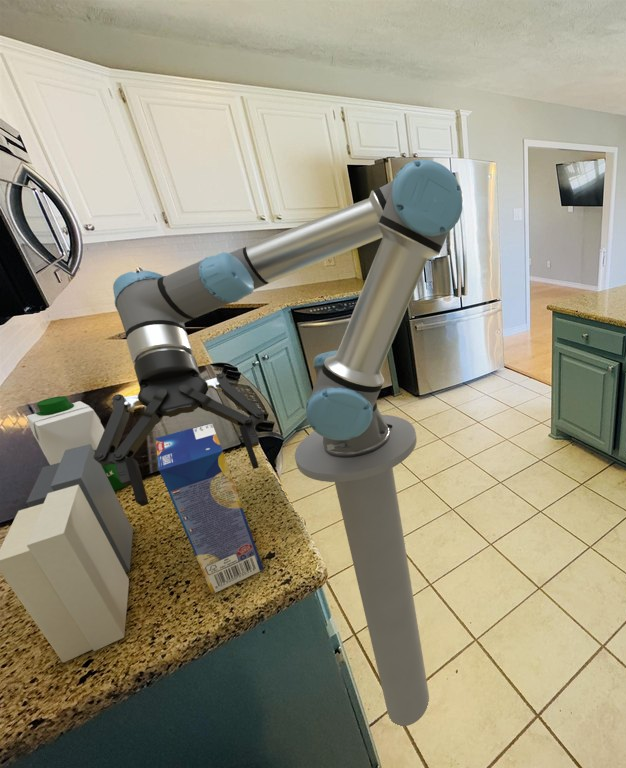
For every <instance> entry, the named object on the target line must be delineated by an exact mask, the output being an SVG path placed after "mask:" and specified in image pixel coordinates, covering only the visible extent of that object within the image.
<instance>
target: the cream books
mask: <svg viewBox="0 0 626 768" xmlns="http://www.w3.org/2000/svg"><path fill="white" fill-rule="evenodd" d="M0 574H1V576H2V577H3V579H4V580H5V581H6V583H7V584H8V586H9V587H10V589H11V590H12V591H13V593H14V594H15V596H16V597H17V599H18V600H19V601H20V603H21V604H22V606H23V607H24V609H25V610H26V612H27V614H29V616H30V618H31V619H32V621H34V623H35V625H36V627H38V629H39V631H40V632H41V633H42V634H43V636H44V638H45V640H46V641H47V642H48V643H49V645H50V646H51V648H52V649H53V651H54V652H55V654H56V655H57V656H58V658H59V659H60V661H61V662H62V663H63V664H64V663H66V662H68V661H71V660H73V659H75V658H77V657H79V656H81V655H84V654H86V653H88V652H90V651H93V652H96V651H98V650H100V649H102V648H105V647H107V646H109V645H111V644H113V643H115V642H117V641H119V640H122V639H124V638H125V637H126V636H125V635H126V623H127V610H128V600H129V587H130V585H129V584H130V579H129V577H128V575H127V573H125V571H124V569H123V567H122V565H121V564H120V562H119V560H118V558H117V556H116V554H115V552H114V550H113V549H112V547H111V545H110V543H109V541H108V539H107V537H106V535H105V533H104V532H103V530H102V528H101V526H100V524H99V522H98V520H97V518H96V516H95V515H94V513H93V511H92V509H91V507H90V505H89V503H88V501H87V499H86V498H85V496H84V494H83V492H82V490H81V488H80V486H79V485H75V486H72V487H68V488H65V489H61V490H58V491H54V492H51V493H48V494H47V496H46V499H45V501H44V503H43V504H40V505H36V506H33V507H30V508H29V507H26V508H22V509H19V510H18V511H17V512H16V515H15V517H14V519H13V521H12V524H11V526H10V527H9V529H8V532H7V533H6V535H5V538H4V540H3V542H2V544H1V546H0Z"/></svg>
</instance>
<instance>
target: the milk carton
mask: <svg viewBox="0 0 626 768" xmlns="http://www.w3.org/2000/svg"><path fill="white" fill-rule="evenodd" d="M36 406H37V409H38V410H39V411H37V412H35V413H32V414H29V415H26V419H27V422H28V425H29V428H30V430H31V432H32V434H33V436H34V438H35V440H36V441H37V443H38V447H40V450H41V451H42V453H43V455H44V457H45V458H46V461H47V462H48V464H49V465H53V464H56V463H60V462H61V459H62V457H63V455H64V452H65V450H68V449H72V448H76V447H80V446H84V445H88V444H91V445H92V447H93V449H94V451H95V452H96V449H97V447H98V445H99V442H100V440H101V437H102V435H103V433H104V430H105V427H104V426H103V424H102V422H101V418H100V417H99V415H97V413H96V412H95V409H93V408H92V407H91V406H90V405H88V404H86V403H84V402H83V401H81V400H79V401H75V402H71V403H70V401H69V399H68V397H67V396H66V395H65V396H63V395H60V396H54V397H49V398H45V399H43V400H40V401H38V402H37V403H36ZM101 466H102V468H103V470H104V472H105V474H106V476H107V478H108V480H109V482H110V484H111V486H112V488H113V490H114V492H116V491H119V490H122V489H124V488H126V487H128V485H126V486H125V485H124V484H123V483H122V482H121V481H119V477H118V473H117V469H116V465H115V464H109V465H106V466H104V465H101Z"/></svg>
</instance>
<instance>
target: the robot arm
mask: <svg viewBox="0 0 626 768" xmlns="http://www.w3.org/2000/svg"><path fill="white" fill-rule="evenodd" d="M463 208H464V195H463V191H462V187H461V185H460V183H459V180H458V179H457V177H456V176H455V175H454V173H453V172H452V171H451V170H450V169H449V168H447V167H446V166H445V165H443V164H442V163H440V162H437V161H435V160H430V159H416V160H412V161H410V162H408V163H406V164H405V165H403V166H402V167H401V168H400V170H399V171H398V172H397V173H396V175H395V177H394V179H392V180H391V181H389V182H388V183H387V184H385V185H383V186H380V187H378V188H375V189H372V190H371V191H370V194H369V197H368V198H366V199H363V200H361V201H358V202H355V203H353V204H350V205H348V206H346V207H343V208H340V209H338V210H335V211H333V212H330V213H327V214H325V215H322V216H320V217H318V218H315V219H313V220H310V221H308V222H307V221H306V222H305V223H302V224H299V225H298V226H294V227H292V228H289V229H287V230H284V231H282V232H280V233H277V234H273V235H272V236H269V237H267V238H264V239H262V240H258V241H257V242H254V243H251V244H249V245H246V246H245V247H244V246H243V247H241V248H238V249H236V250H233V251H231V252H220V253H218V254H215V255H211V256H207V257H204V258H202V259H201V260H199V261H197V262H195V263H193V264H190V265H187V266H185V267H184V268H181V269H179V270H177V271H174V272H172V273H170V274H168V275H162V274H161V273H158V272H155V271H151V270H140V271H138V272H137V271H136V272H134V271H128V272H124V273H122V274H121V275H119V276H118V277H116V279H115V281H114V282H113V285H112V290H113V296H114V306H115V308H116V310H117V312H118V316H119V319H120V322H121V324H122V327H123V331H124V334H125V339H126V345H127V348H128V351H129V354H130V359H131V361H132V364H133V368H134V372H135V376H136V380H137V383H138V386H139V391H138V394H135V395H127V396H124V395H122V394H119V393H117V394H115V395H113V396H112V399H111V400H112V411H111V414H110V416H109V418H108V421H107V423H106V426H105V427H104V433H103V435H102V437H101V440H100V442H99V445H98V447H97V449H96V452H95V454H94V457H93V458H94V459H95V460H96V461H97V462H99V463H100V464H101V465H104V466H106V465H109V464H115V465H116V469H117V473H118V477H119V481H121V482H122V483H123V484H124V485H125V486H126V485H127V486H129V485H131V488H132V493H133V495H134V496H133V497H134V500H135V503H137V504H138V505H139V506H140V507H145V506H147V505H150V502H149V499H148V495H147V492H146V489H145V484H144V480H143V477H142V473H141V469H140V466H139V462H138V461H137V460H136V459H135V458H134V456H135V455H136V453H137V452H138V451H139V449H140V448H141V446H142V445H143V443H144V442H145V440H146V439H147V438H148V436H149V435H150V433H151V432H152V431H153V430H154V428H155V427H156V426H157V425H158V424H159V423H160V422H161V421H162V419H163V418H164V417H169V418H172V417H176V416H179V415H180V414H189V413H193V412H195V410H197V409H198V408H199V409H201V410H204V411H205V412H210V413H212V414H214V415H216V416H218V417H220V418H222V419H224V420H226V421H228V422H230V423H232V424H235V425H237V426H239V431H240V435H241V438H242V440H243V443H244V446H245V450H246V452H247V455H248V459H249V461H250V464H251V467H252V469H253V470H255V469H256V470H257V469H258V468H259V463H258V460H257V459H258V458H257V457H256V453H255V451H254V447H258V446H260V440H259V439H260V438H259V437H258V434H257V431H256V428H255V427H256V425H258V424H261V423H263V422H264V421H265V415H264V411H263V410H262V409H260V408H259V407H258V406H256V404H254V403H253V402H252V401H251V400H250V399H248V398H247V397H246V396H245V395H243V394H242V393H241V392H240V391H239V390H237V389H236V388H235V387H234V386H233V385H231V384H230V382H229V380H228V379H227V377H226V374H224V373H218V374H216V375H215V376H216V377H213V378H211V379H210V378H209V379H207V380H205V379H204V378H203V377H202V375H201V371H200V369H199V366H198V362H197V360H196V357H195V356H194V352H193V348H192V344H191V342H190V339H189V336H188V333H187V330H186V325H185V323H187V322H190V321H192V320H195V319H197V318H199V317H201V316H204V315H206V314H208V313H210V312H213V311H216V310H218V309H220V308H223V307H225V306H228V305H230V304H232V303H237V302H239V301H240V300H242V299H244V298H245V297H247V296H249V295H251V294H252V293H253V292H254V291H255V290H257V289H259V288H262V287H264V286H266V285H268V284H271V283H273V282H275V281H278V280H281V279H283V278H285V277H288V276H290V275H293V274H295V273H298V272H300V271H303V270H306V269H308V268H310V267H312V266H315V265H317V264H320V263H323V262H325V261H328V260H330V259H332V258H335V257H337V256H340V255H343V254H345V253H348V252H350V251H353V250H356V249H357V248H360V247H363V246H364V245H367V244H370V243H372V242H376V241H377V240H379V239H381V241H380V243H379V246H378V248H377V251H376V253H375V256H374V259H373V261H372V262H371V265H370V267H369V268H370V269H369V271H368V274H367V276H366V279H365V280H364V284H363V286H362V288H361V290H360V294H359V296H358V299H357V301H356V304H355V306H354V309H353V311H352V314H351V316H350V319H349V321H348V324H347V326H346V329H345V331H344V334H343V337H342V339H341V343H340V345H339V347H338V349H336V350H331V351H326V352H322V353H319V354H317V355H316V356H314V358H313V369H314V372H315V375H316V380H315V383H314V386H313V388H312V391H311V394H310V397H309V398H308V400H307V403H306V405H305V409H306V410H305V412H306V413H305V414H306V421H307V423H308V425H309V426H310V427H311V429H312V430H313V432H314V431H315V432H316V433H318V434H319V435H321V436H323V446H324V450H325V451H326V453H328V454H329V455H331V456H335V457H341V458H349V457H357V456H362V455H365V454H369V453H371V452H374V451H376V450H378V449H379V448H381V447H382V446H384V445H385V444H386V443H387V441H388V440H389V437H390V434H389V428H392V425H390V424H387V423H386V422H385V420H384V419H383V417H382V415H383V414H382V413H381V411H380V410H379V408H378V402H377V399H378V397H379V394H380V392H381V390H382V388H383V386H384V383H385V378H384V376H383V374H382V371H381V370H382V367H383V365H384V363H385V360H386V358H387V356H388V353H389V351H390V349H391V346H392V344H393V343H394V340H395V338H396V335H397V333H398V330H399V328H400V326H401V324H402V321H403V318H404V316H405V314H406V311H407V308H408V306H409V305H410V301H411V299H412V297H413V295H414V293H415V291H416V288H417V286H418V283H419V281H420V278H421V276H422V274H423V272H424V269H425V267H426V264H427V262H428V260H429V259H431V258H434V257H437V256H439V255H440V253H441V251H442V249H443V246H444V245H445V242H446V239H447V238H448V235H449V233H450V231H451V230H453V229H454V227H455V226H456V225H457V223H458V222H459V220H460V218H461V216H462V213H463ZM209 389H213V390H215V392H222V394H223V395H224V396H225V397H226V398H228V399H229V400H230V401H231V402H232V403H233V404H234V405H236V406H237V407H238V408H240V410H242V411H243V412H244V413H245V414H247V415H248V416H247V415H245V414H244V413H241V412H239V411H237V410H235V409H233V408H231V407H229V406H227V405H225V404H223V403H221V402H219V401H217V400H215V399H213V398H211V396H209V395H207V393H208V392H209ZM140 404H141V405H143V406H144V407H145V409H144V410H143V411H142V415H141V417H139V419H138V421H137V422H136V423H135V425H134V426H133V427H132V429H131V430H130V431H129V433H128V434H127V435H126V436H125V438H124V439H123V441H122V442H121V439H122V437H123V434H124V432H125V430H126V426H127V424H128V422H129V419H130V413H131V412H133V411H135V409H136V406H137V405H140ZM388 427H389V428H388ZM120 442H121V444H120ZM119 444H120V445H119ZM127 486H126V487H127Z"/></svg>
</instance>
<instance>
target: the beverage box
mask: <svg viewBox="0 0 626 768" xmlns="http://www.w3.org/2000/svg"><path fill="white" fill-rule="evenodd" d="M214 427H215V426H214V424H213V422H209V423H206V424H202V425H199V426H196V427H191V428H187V429H184V430H180V431H176V432H173V433H169V434H166V435H162V436H158V437H155V445H156V454H157V455H156V456H157V463H158V471H159V474H160V477H161V478H162V481H163V483H164V486H165V488H166V490H167V493H168V495H169V497H170V500H171V503H172V505H173V507H174V509H175V511H176V513H177V516H178V518H179V521H180V523H181V525H182V528H183V531H184V532H185V535H186V537H187V540H188V542H189V544H190V546H191V548H192V551H193V553H194V556H195V558H196V561H197V563H198V565H199V567H200V568H199V569H200V570H201V572H202V574H203V577H204V579H205V582H206V584H207V586H208V588H209V591H210V593H211V595H214V594H217V593H218V592H220V591H222V590H224V589H226V588H229V587H230V586H232V585H235V584H236V583H239V582H241V581H243V580H244V579H247V578H250V577H251V576H253V575H255V574H257V573H260V572H261V571H264V570H265V568H264V566H263V564H262V560H261V558H260V555H259V551H258V549H257V546H256V542H255V540H254V538H253V534H252V532H251V531H252V530H251V528H250V526H249V522H248V520H247V517H246V514H245V511H244V508H243V506H242V503H241V499H240V497H239V494H238V491H237V488H236V484H235V482H234V479H233V477H232V473H231V471H230V468H229V465H228V462H227V459H226V456H225V454H224V450H223V448H222V445H221V442H220V440H219V437H218V435H217V433H216V430H215V428H214Z"/></svg>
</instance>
